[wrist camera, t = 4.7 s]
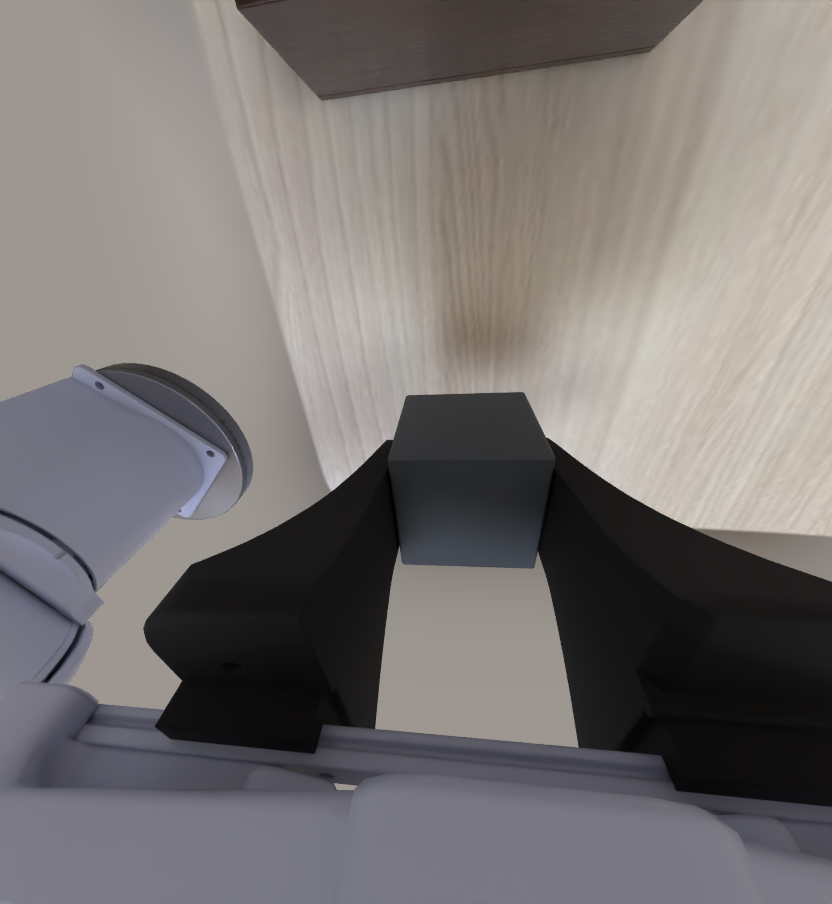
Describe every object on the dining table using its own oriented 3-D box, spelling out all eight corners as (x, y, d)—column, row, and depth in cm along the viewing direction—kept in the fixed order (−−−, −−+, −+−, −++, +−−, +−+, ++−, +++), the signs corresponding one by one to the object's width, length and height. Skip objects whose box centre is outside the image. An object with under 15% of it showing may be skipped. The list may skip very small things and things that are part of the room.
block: (414, 485, 13) (401, 565, 10) (405, 394, 11) (386, 458, 8) (513, 485, 13) (535, 569, 10) (524, 390, 11) (557, 457, 7)
